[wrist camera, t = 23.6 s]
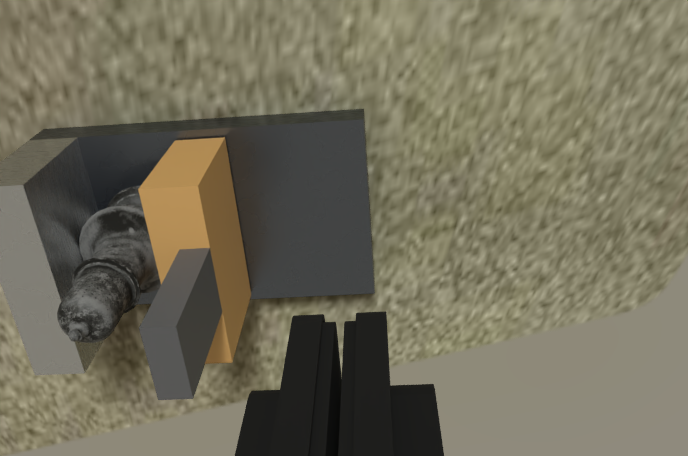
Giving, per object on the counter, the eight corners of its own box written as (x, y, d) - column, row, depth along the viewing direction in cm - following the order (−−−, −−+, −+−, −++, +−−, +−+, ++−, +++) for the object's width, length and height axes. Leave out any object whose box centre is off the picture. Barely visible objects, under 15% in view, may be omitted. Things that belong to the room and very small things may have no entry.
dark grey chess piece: (154, 279, 43) (85, 407, 33) (82, 221, 41) (-16, 337, 31) (212, 226, 41) (159, 344, 31) (139, 162, 39) (56, 264, 29)
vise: (92, 290, 46) (35, 375, 38) (43, 129, 41) (-35, 188, 33) (374, 277, 45) (376, 361, 37) (363, 108, 39) (363, 165, 31)
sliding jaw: (206, 296, 43) (144, 456, 31) (174, 140, 38) (85, 258, 26) (251, 294, 43) (206, 454, 31) (224, 137, 38) (159, 255, 26)
